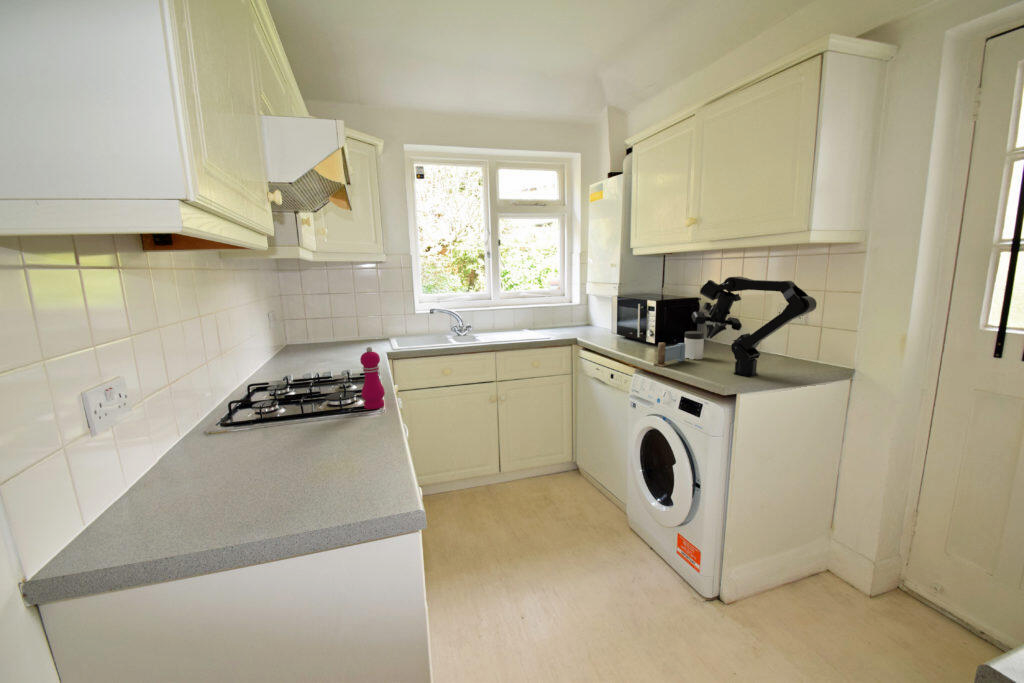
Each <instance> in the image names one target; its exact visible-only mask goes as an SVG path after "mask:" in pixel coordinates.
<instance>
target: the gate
mask: <svg viewBox="0 0 1024 683" xmlns="http://www.w3.org/2000/svg"><path fill="white" fill-rule="evenodd" d="M685 359H686V358H685V342H679V343H677V344H675V345H671V346H665V363H667V362H671V361H674V360H676V361H678V362H684V361H685Z"/></svg>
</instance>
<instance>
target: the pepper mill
mask: <svg viewBox="0 0 1024 683" xmlns="http://www.w3.org/2000/svg"><path fill="white" fill-rule="evenodd" d="M365 350H366V352H363V353H362V355H361V356H360V365H361V366H363V367H362V372H364V382H363V386H362V388H361V398H362V400H364V402H363V407H364V409H367V410H378V409H381V408H383V407H384V406H385V400H384V399H383V398H384V396H385V395H386V394H385V393H386V392H385V388H384V386H383V383H382V382H381V381H380V377H379V370H380V366H379V363H380V361H381V359H380V358H381V357H380V355H379V353H377V352H376V351H373V348H372V347H371V346H367V347H366V349H365Z"/></svg>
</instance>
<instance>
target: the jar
mask: <svg viewBox="0 0 1024 683" xmlns="http://www.w3.org/2000/svg"><path fill="white" fill-rule="evenodd" d="M704 338H705V332H704V331H700V330H698V331H697V330H688V331H685V332H684V343H685V359H686V358H689V359H688V360H693V359H696V360H703V359H704V343H705V342H704V340H705V339H704Z"/></svg>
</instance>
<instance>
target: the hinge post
mask: <svg viewBox="0 0 1024 683" xmlns="http://www.w3.org/2000/svg"><path fill="white" fill-rule="evenodd" d="M665 347H666V342H658V346H657V362H655V363H653V366H654V367H659V368H665V367H669V366H668V365H670V364H669V363H667V362H665ZM664 366H665V367H664Z"/></svg>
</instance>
